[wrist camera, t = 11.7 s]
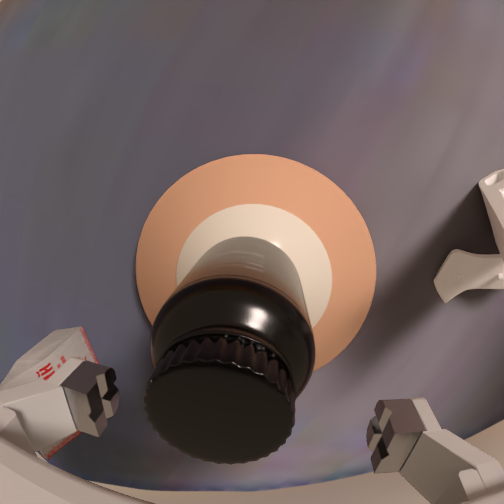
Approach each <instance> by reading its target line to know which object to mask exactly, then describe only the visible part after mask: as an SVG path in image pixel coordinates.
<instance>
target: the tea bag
mask: <svg viewBox="0 0 504 504" xmlns="http://www.w3.org/2000/svg"><path fill="white" fill-rule="evenodd" d="M71 357H77V358H80V359H83V360H86V361H90V362H93V363H97V364H99V363H98V361H97V359H96V357H95V355H94V352H93V350H92V348H91V346H90V344H89V341H88V339H87V337H86V334H85V332H84V330H83V327H75V328H68V329H61V330H54V331H53V332H52V333H50V334H49V335H48V336H47V337H45V338H44V339H43V340H42V341H40V342H39V343H38V344H37V345H35V346H34V347H33V348H32V349H30V350H29V351H28V352H27V353H25V354H24V355H23V356H22V357H20V358H19V359H18V360H17V361H16V362H15V364H14V365H13V367H12V368H11V370H10V372H9V373H8V375H7V376H6V378H5V379H4V380H3V382H2V383H1V384H0V391H2V390H6V389H10V388H14V387H17V386H21V385H25V384H29V383H32V382H36V381H39V380H46V381H47V380H48V379H49V378H50V377H51V376H52V375H53V374H54V373H55V372H56V371H57V370H58V369H59V368H60V367H61V366H63V365H64V364H65V363H66V362H67V361H68V360H69V359H70V358H71ZM80 433H82V431H79V430H77V431H76V432H74V433H72V434H70V435H68V436H66V437H64V438H62V439H60V440H59V441H57V442H55V443H53V444H51V445H49V446H47V447H45V448H43V449H41V450H39V451H40V453H41V454H42V455H43V457H44V458H45V459H46V458H47V459H48V460H49V459H50V458H51V457H52V456H53V455H54V454H55V453H56V452H57V451H58V450H59V449H61V448H62V447H63V446H64V445H66V444H67V443H68V442H70V441H71V440H72V439H74V438H75V437H76V436H78V435H79V434H80Z"/></svg>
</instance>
